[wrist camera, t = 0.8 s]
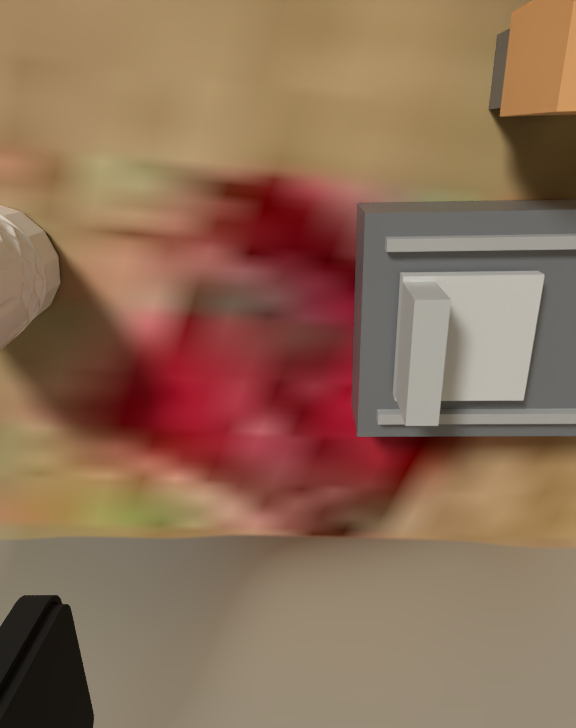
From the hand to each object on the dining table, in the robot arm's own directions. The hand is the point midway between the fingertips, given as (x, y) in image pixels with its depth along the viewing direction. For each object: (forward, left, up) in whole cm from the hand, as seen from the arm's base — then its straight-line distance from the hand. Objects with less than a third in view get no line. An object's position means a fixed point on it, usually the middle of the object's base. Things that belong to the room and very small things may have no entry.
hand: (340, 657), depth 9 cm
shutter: (+1, +7, -19) cm, 20 cm away
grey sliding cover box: (+1, +10, -23) cm, 26 cm away
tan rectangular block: (-11, +10, -24) cm, 28 cm away
